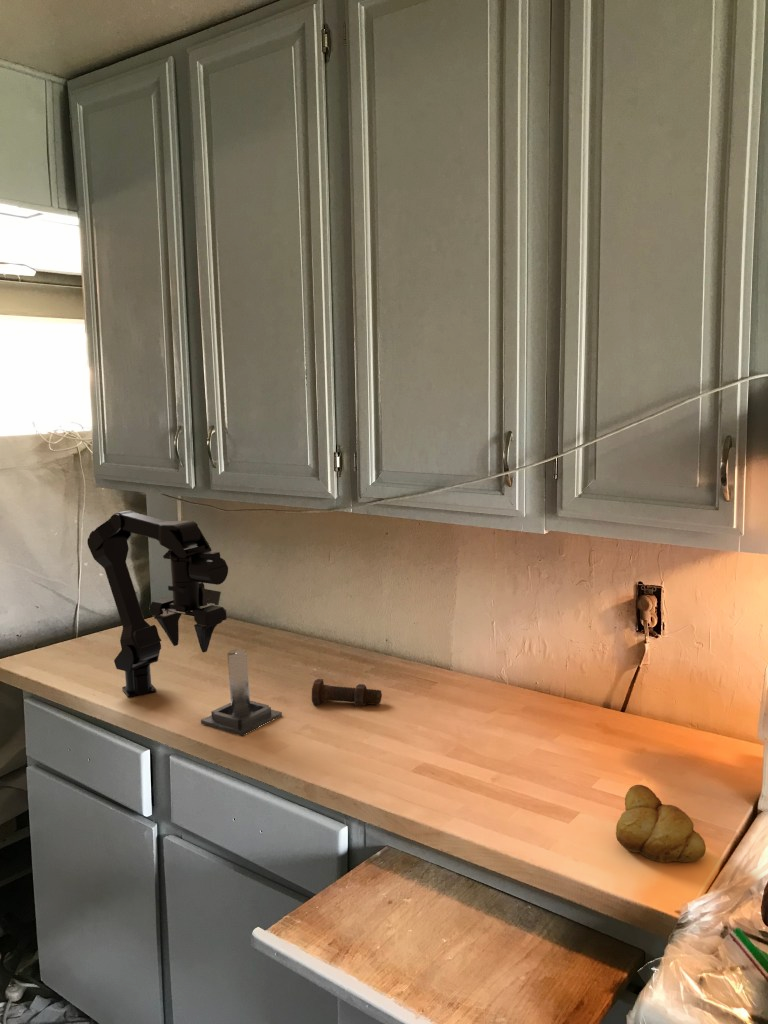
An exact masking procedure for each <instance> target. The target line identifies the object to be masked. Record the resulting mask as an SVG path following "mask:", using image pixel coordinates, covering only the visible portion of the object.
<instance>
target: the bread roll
mask: <svg viewBox="0 0 768 1024" xmlns="http://www.w3.org/2000/svg"><path fill="white" fill-rule="evenodd" d="M624 805H625V806H624V807H625V811H623V812H622V813H621V815H620V817H619V819H618V820H617V823H616V827H615V828H616V829H615V836H616V837H615V838H616V841H617V842H618V843H619V844H620V845H621V846H622V847H623V848H624V850H626V851H630V852H631V853H640V854H642V856H643V857H645V858H649V859H650V860H654V861H657V862H661V863H665V862H667V863H671V862H673V861H675V862H681V863H689V862H696V861H698V860H700V859H702V858H703V857H704V855H705V854H706V851H707V849H706V848H707V847H706V844H705V843H706V842H705V839H704V838H703V837H702V836H701V834H700V833H699V832H697V831H695V830H694V828H695V827H694V826H695V825H694V822H693V821H692V818H690V817H689V815H688V814H687V812H685V811H684V810H682V809H681V808H679V807H677V806H676V805H672V804H663V803H662V800H660V798H659V797H658V796H657V795H656V793H655V792H653V790H652V789H651V788H649V787H648V786H646V785H643V784H635V785H632V786H630V787H629V789H628V790H627V792H626V794H625V796H624Z"/></svg>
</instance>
